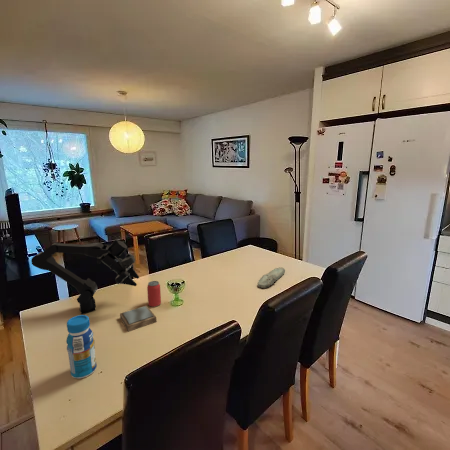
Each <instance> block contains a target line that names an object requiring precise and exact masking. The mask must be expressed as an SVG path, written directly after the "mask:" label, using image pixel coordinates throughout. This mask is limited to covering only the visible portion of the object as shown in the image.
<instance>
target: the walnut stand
mask: <svg viewBox="0 0 450 450" xmlns="http://www.w3.org/2000/svg"><path fill="white" fill-rule="evenodd" d="M119 318H120V320H121V322H122V323H123V325H124V327H125V329H126V331H127V332H130V331H134V330H136V329H140V328H142V327H146V326H149V325H151V324H155V323H157V316H156V315H155V314H154V313H153V311H151V308H149V307H148V305H144V306H141V307H137V308H134V309H130V310H127V311H124V312H120V313H119Z"/></svg>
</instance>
